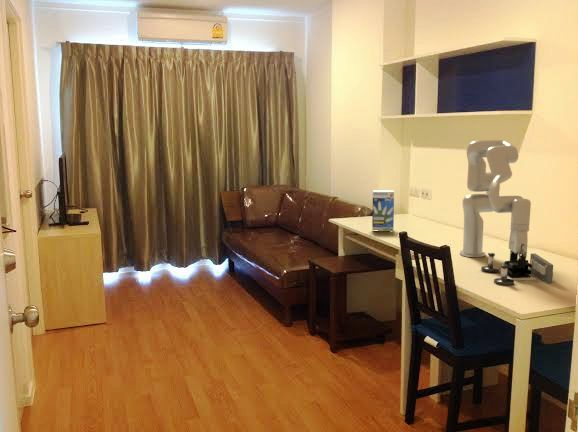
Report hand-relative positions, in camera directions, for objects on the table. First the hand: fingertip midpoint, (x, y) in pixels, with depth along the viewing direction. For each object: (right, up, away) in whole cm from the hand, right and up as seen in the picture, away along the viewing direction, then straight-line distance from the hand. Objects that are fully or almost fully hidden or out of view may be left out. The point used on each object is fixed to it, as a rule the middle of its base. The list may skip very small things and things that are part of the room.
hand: (517, 264), depth 244 cm
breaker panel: (+10, -5, 0) cm, 12 cm away
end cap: (0, -5, 0) cm, 5 cm away
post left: (-8, -4, +10) cm, 14 cm away
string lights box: (-42, +12, +105) cm, 113 cm away
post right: (-9, -7, -8) cm, 15 cm away
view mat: (0, -5, 0) cm, 5 cm away
